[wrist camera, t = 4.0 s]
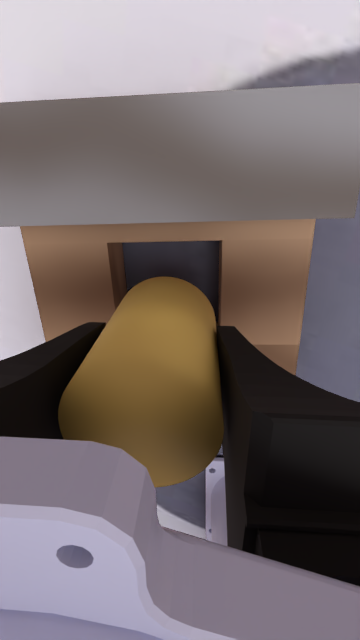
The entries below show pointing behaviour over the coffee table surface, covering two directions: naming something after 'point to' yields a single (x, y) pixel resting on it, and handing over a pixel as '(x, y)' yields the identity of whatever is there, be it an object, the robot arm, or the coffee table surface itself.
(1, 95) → the coffee table surface
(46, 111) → the porch socket
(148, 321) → the peg
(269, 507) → the robot arm
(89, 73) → the coffee table surface
